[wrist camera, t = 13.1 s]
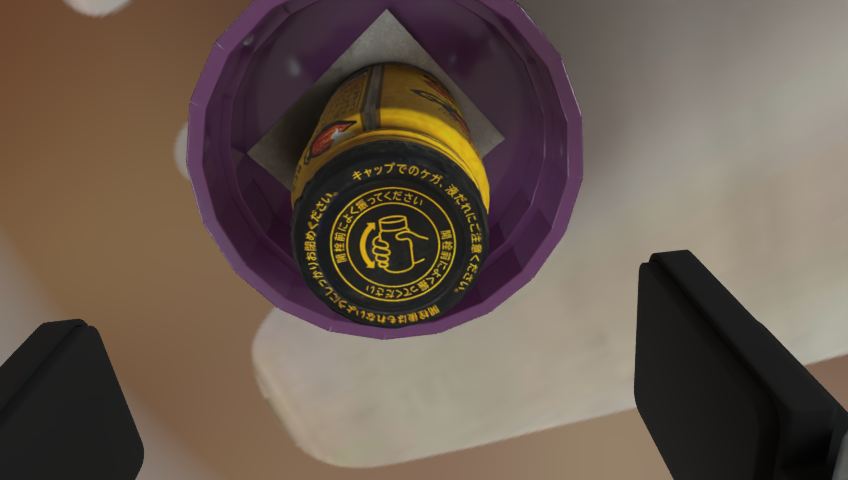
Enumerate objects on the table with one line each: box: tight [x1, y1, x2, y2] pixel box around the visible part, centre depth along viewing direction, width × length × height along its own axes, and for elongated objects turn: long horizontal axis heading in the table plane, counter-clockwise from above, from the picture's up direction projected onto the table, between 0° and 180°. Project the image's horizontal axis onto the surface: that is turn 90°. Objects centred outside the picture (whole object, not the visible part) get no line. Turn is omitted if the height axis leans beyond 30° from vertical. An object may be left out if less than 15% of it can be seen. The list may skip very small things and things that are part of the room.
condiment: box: [247, 9, 505, 329], centre depth 22 cm, size 7×8×12 cm
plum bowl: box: [186, 0, 583, 340], centre depth 25 cm, size 14×14×5 cm
